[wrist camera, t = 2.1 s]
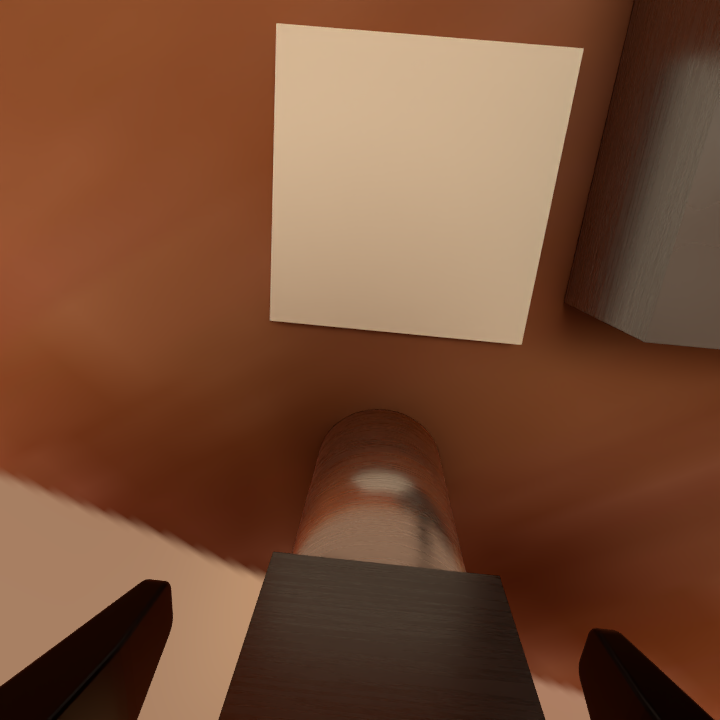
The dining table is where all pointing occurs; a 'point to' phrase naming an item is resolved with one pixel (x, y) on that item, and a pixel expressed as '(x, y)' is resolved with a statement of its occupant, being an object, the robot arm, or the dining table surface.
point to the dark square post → (379, 598)
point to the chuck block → (658, 184)
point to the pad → (413, 179)
